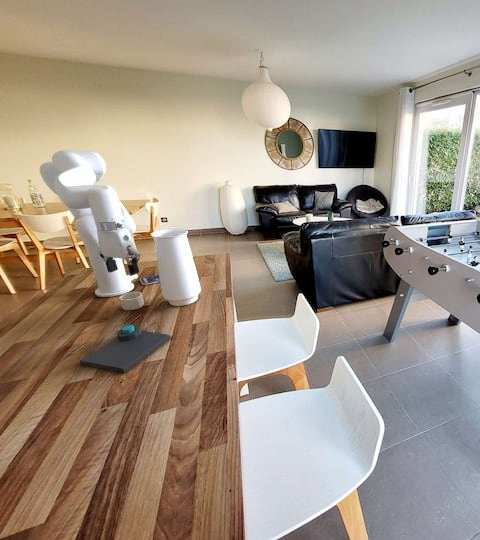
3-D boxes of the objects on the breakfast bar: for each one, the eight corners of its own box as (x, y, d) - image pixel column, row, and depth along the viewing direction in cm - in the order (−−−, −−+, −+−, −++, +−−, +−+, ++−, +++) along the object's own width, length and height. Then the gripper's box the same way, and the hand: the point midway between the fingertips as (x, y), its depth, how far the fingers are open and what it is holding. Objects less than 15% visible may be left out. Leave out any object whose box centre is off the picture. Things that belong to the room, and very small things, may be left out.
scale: (131, 332, 94) (129, 324, 93) (170, 338, 92) (168, 330, 91) (79, 364, 80) (76, 355, 78) (124, 372, 78) (121, 363, 76)
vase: (207, 293, 121) (196, 229, 111) (192, 308, 109) (178, 238, 99) (176, 292, 121) (162, 227, 110) (157, 307, 109) (139, 236, 98)
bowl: (133, 301, 112) (131, 290, 111) (149, 303, 112) (146, 293, 110) (117, 309, 106) (114, 298, 105) (133, 312, 105) (130, 301, 104)
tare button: (129, 328, 92) (127, 324, 91) (137, 329, 91) (136, 325, 91) (120, 333, 89) (119, 329, 88) (128, 335, 88) (127, 330, 88)
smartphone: (139, 278, 130) (177, 271, 139) (139, 279, 130) (177, 272, 140) (142, 284, 125) (181, 276, 134) (143, 285, 125) (181, 277, 135)
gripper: (142, 225, 99) (153, 271, 106) (100, 221, 102) (113, 266, 108) (122, 230, 92) (135, 279, 99) (77, 225, 95) (93, 273, 101)
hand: (124, 272), depth 104 cm, fingers open, 8 cm apart
